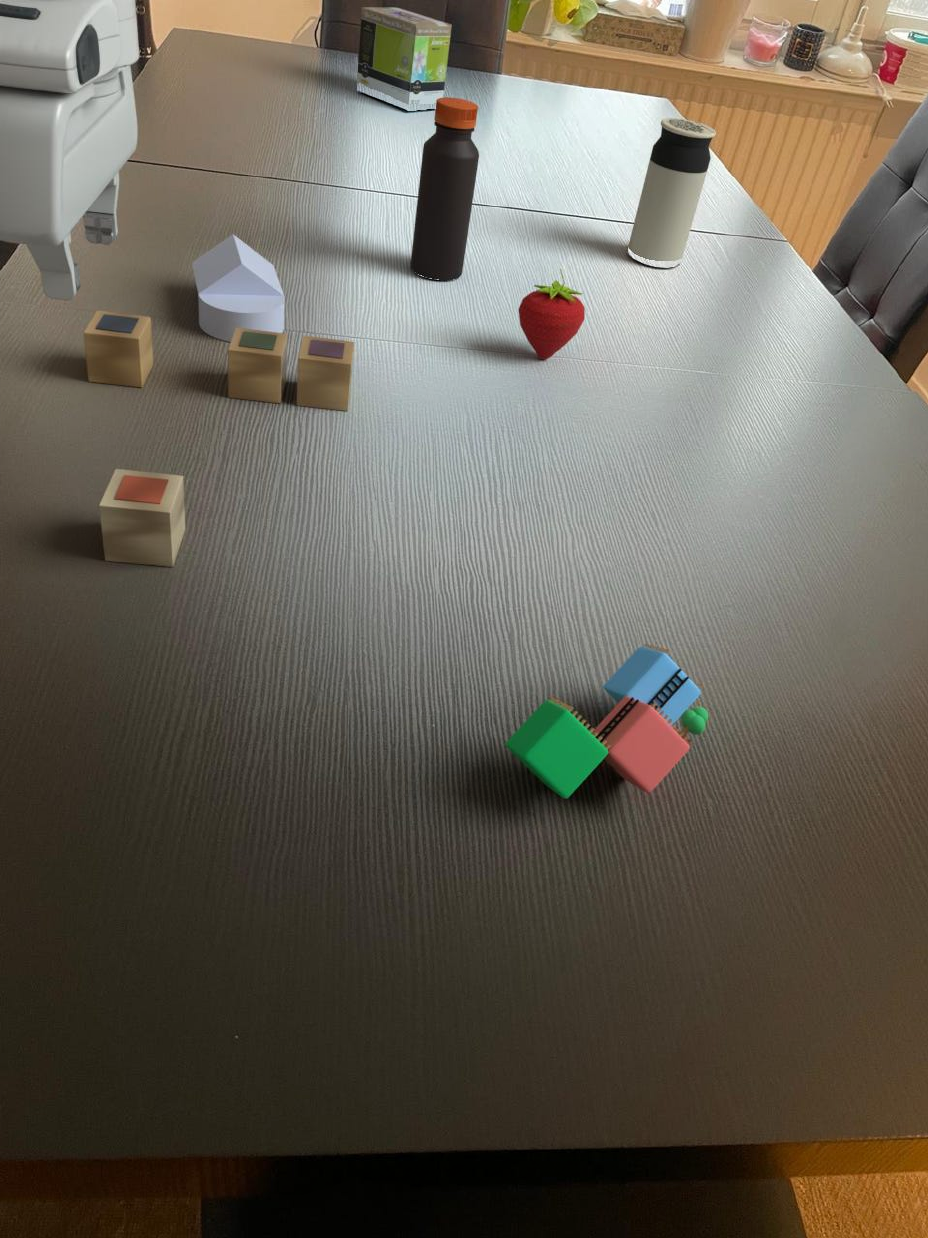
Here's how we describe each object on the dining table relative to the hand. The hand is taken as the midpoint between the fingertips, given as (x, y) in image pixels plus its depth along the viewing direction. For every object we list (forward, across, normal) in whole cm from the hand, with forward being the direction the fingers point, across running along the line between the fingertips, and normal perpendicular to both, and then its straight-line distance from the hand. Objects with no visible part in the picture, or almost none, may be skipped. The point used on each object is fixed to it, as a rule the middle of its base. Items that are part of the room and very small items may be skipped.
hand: (83, 266), depth 63 cm
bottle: (+22, -63, +25) cm, 71 cm away
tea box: (+21, -150, +19) cm, 153 cm away
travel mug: (+22, -79, +57) cm, 100 cm away
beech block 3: (+21, -26, +14) cm, 36 cm away
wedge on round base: (+21, -42, +4) cm, 47 cm away
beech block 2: (+21, -26, +8) cm, 34 cm away
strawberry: (+22, -41, +37) cm, 60 cm away
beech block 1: (+21, -26, -6) cm, 34 cm away
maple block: (+21, +1, +2) cm, 21 cm away
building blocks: (+22, +19, +36) cm, 46 cm away
